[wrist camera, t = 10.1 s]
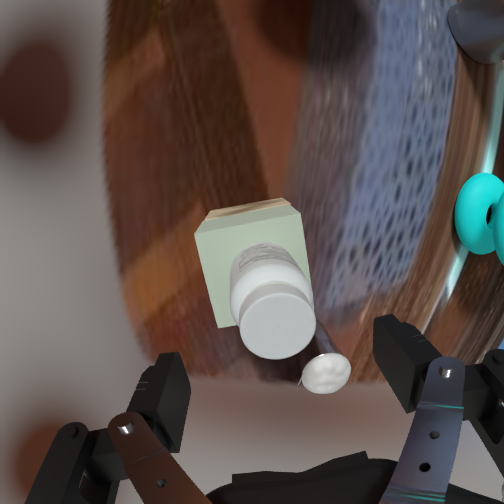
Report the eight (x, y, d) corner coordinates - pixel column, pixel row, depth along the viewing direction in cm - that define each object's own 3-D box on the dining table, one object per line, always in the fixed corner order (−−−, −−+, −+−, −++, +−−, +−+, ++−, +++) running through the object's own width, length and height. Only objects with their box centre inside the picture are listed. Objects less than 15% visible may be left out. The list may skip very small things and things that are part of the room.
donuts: (552, 173, 19) (553, 259, 22) (496, 166, 29) (502, 239, 32) (504, 189, 20) (505, 289, 22) (444, 179, 29) (453, 260, 32)
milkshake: (285, 311, 33) (302, 366, 23) (332, 314, 33) (363, 366, 23) (278, 347, 34) (291, 407, 24) (324, 348, 34) (348, 405, 25)
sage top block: (288, 204, 25) (300, 213, 20) (301, 284, 27) (314, 309, 22) (202, 221, 25) (194, 234, 20) (221, 300, 27) (218, 328, 22)
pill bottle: (280, 309, 22) (301, 377, 14) (220, 290, 21) (215, 353, 14) (305, 253, 21) (343, 300, 13) (244, 230, 20) (251, 267, 13)
